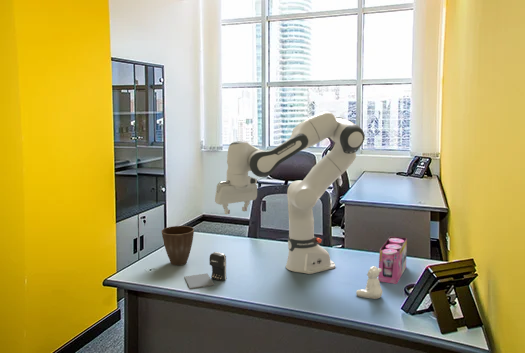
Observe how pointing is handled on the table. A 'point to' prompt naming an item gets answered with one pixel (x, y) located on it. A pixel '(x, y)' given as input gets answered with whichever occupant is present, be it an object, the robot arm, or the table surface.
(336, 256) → the table surface
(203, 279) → the mat
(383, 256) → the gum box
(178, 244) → the plant pot
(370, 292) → the white creature statuette
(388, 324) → the table surface
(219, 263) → the battery charger
